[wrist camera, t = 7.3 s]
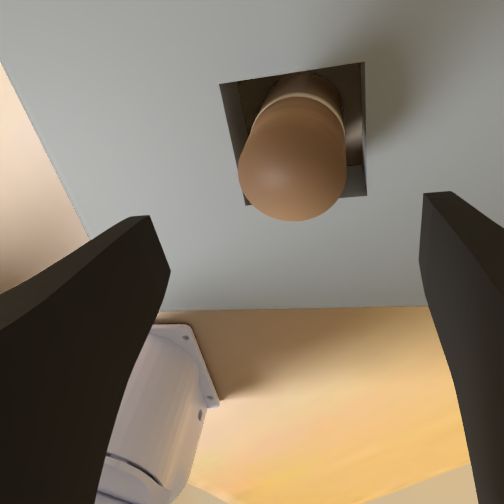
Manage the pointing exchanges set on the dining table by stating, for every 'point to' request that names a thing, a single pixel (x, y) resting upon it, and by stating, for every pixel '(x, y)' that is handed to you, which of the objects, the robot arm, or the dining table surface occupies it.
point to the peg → (296, 150)
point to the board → (235, 134)
